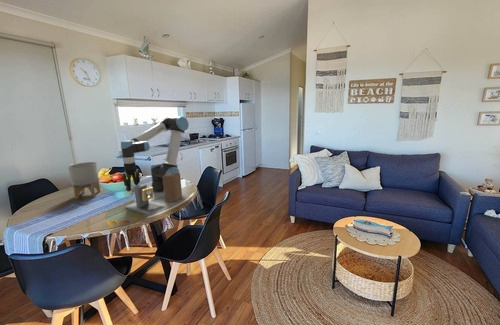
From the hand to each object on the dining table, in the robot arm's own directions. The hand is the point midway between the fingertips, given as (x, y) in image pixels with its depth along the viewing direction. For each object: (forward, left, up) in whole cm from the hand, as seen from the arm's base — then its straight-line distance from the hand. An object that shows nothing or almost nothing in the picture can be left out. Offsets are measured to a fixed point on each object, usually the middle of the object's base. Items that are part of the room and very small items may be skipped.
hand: (133, 193), depth 176 cm
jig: (+5, +10, -9) cm, 14 cm away
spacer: (+8, +14, -1) cm, 16 cm away
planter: (-23, -49, -9) cm, 55 cm away
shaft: (+4, +6, +1) cm, 7 cm away
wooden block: (-10, +26, -9) cm, 29 cm away
